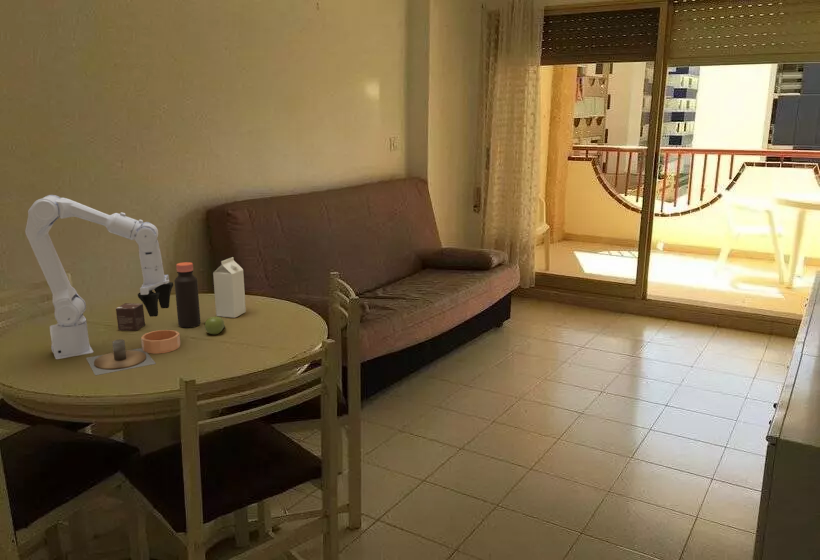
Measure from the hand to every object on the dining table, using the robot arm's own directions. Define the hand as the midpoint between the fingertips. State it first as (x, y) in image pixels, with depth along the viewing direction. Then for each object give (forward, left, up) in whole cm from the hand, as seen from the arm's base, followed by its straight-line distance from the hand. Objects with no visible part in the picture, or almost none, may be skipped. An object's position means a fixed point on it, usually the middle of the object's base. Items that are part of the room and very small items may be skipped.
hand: (159, 312), depth 192 cm
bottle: (+12, +15, -10) cm, 22 cm away
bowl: (-1, -3, -10) cm, 10 cm away
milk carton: (+27, +19, -10) cm, 35 cm away
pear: (+17, +5, -11) cm, 21 cm away
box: (-4, +22, -10) cm, 25 cm away
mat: (-13, -8, -10) cm, 18 cm away
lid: (-13, -8, -10) cm, 18 cm away
